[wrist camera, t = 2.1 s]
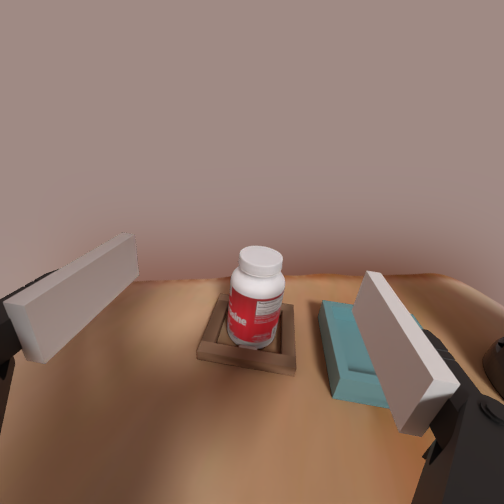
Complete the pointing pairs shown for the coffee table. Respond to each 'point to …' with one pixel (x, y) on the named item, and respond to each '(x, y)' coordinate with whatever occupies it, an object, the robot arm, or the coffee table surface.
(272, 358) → the bottle holder
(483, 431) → the robot arm
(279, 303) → the pill bottle
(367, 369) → the tray
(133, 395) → the coffee table surface
